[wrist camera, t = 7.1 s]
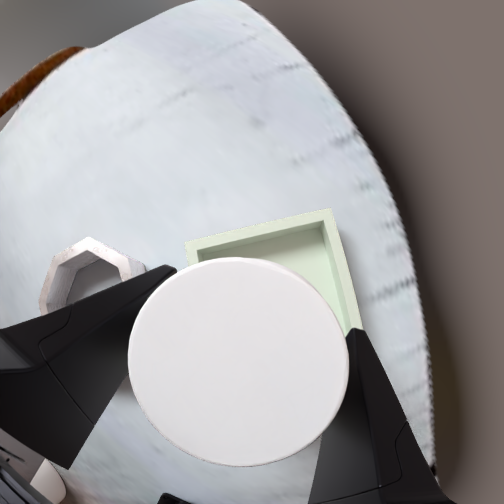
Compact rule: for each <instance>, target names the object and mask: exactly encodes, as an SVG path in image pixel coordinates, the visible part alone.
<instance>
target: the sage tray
mask: <svg viewBox="0 0 504 504" xmlns="http://www.w3.org/2000/svg"><path fill="white" fill-rule="evenodd" d="M184 244H185V250H186V255H187V261H188V267H189V266H192V265H194V264H197V263H200V262H203V261H207V260H212V259H218V258H227V257H242V258H255V259H262V260H267V261H271V262H275V263H278V264H280V265H283V266H285V267H287V268H289V269H291V270H293V271H295V272H297V273H298V274H300V275H301V276H302V277H304V278H305V279H306V280H307V281H309V282H310V283H311V284H312V285H313V286H314V287H315V288H316V289H317V290H318V292H319V293H320V294H321V295H322V297H323V298H324V299H325V301H326V302H327V303H328V304H329V306H330V307H331V309H332V310H333V312H334V314H335V315H336V317H337V319H338V321H339V323H340V326H341V328H342V330H343V333H344V336H345V337H346V336H347V334H348V332H349V331H350V329H351V328H354V327H355V328H358V329H362V330H363V327H362V322H361V318H360V313H359V309H358V305H357V300H356V296H355V292H354V288H353V284H352V280H351V276H350V272H349V269H348V265H347V261H346V257H345V254H344V250H343V247H342V243H341V240H340V236H339V233H338V230H337V226H336V223H335V220H334V217H333V214H332V210H331V208H327V209H322V210H318V211H313V212H309V213H304V214H300V215H295V216H291V217H287V218H282V219H278V220H274V221H269V222H265V223H261V224H257V225H252V226H248V227H244V228H240V229H236V230H232V231H227V232H223V233H219V234H215V235H211V236H207V237H203V238H199V239H195V240H191V241H187V242H184Z"/></svg>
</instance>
